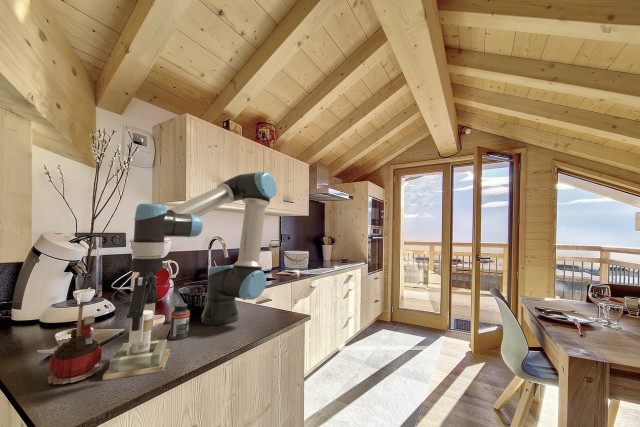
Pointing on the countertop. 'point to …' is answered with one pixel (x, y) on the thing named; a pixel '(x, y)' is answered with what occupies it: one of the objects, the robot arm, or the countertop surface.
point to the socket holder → (138, 361)
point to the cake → (76, 354)
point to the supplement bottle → (179, 322)
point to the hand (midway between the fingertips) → (142, 333)
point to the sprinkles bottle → (144, 335)
